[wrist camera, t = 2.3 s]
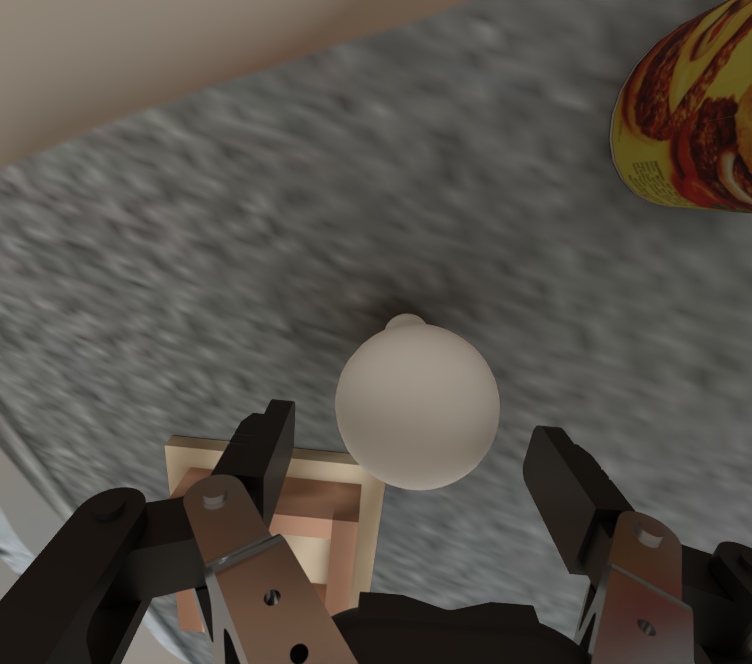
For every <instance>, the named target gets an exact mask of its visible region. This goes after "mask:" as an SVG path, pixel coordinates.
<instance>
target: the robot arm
mask: <svg viewBox="0 0 752 664" xmlns="http://www.w3.org/2000/svg"><path fill="white" fill-rule="evenodd" d="M294 426H295V402H294V401H285V400H275V399H272V400H271V401H270V403H269V405H268V407H267V409H266V411H265V413H264V414H258V413H252V414H251V415H250V416H248V417H247V418H245V419H244V420H243V421H241V423H240V425H239V426H238V428H237V430H236V431H235V435H233V437H232V438H231V440H230V443H229V444H228V445H227V447H226V449H225V451H224V452H223V454H222V456H221V457H220V459H219V461H218V463H217V464H216V466H215V468H214V470H213V471H212V473H211V475H210V476H209V477H206V478H203V479H201V480H199V481H197V482H196V483H194V484H193V485H192V486H191V487H190V488H189V489H188V490H187V492H186V493H185V495H184V496H181V497H178V498H173V499H167V500H161V501H154V502H148V503H146V500H145V496H144V495H143V493H142V492H140V491H139V490H137V489H134V488H127V487H122V488H114V489H110V490H107V491H104V492H101V493H99V494H97V495H95V496H93V497H91V498H90V499H88V500H87V501H85V502H84V503H83V504H82V505H81V506H80V507H79V508H78V509H77V510H76V511H75V512H74V513H73V515H72V516H71V517H70V518H69V519H68V521H67V522H66V523H65V524H64V525H63V527H62V528H61V529H60V530H59V531H58V532H57V534H56V535H55V536H54V537H53V539H52V540H51V541H50V542H49V543H48V544H47V546H46V547H45V548H44V549H43V550H42V552H41V553H40V554H39V555H38V557H37V558H36V559H35V560H34V561H33V562H32V563H31V565H30V566H29V567H28V568H27V569H26V571H25V572H24V573H23V574H22V575H21V577H20V578H19V579H18V580H17V581H16V583H15V584H14V585H13V586H12V587H11V589H10V590H9V591H8V592H7V593H6V594H5V596H4V597H3V598H2V599H1V601H0V664H121V662H122V660H123V658H124V656H125V654H126V652H127V650H128V648H129V646H130V644H131V642H132V640H133V637H134V635H135V633H136V631H137V629H138V627H139V625H140V623H141V621H142V619H143V617H144V615H145V613H146V610H147V608H148V606H149V604H150V602H151V600H152V598H154V597H159V596H163V595H167V594H172V593H176V592H180V591H184V590H189V589H192V591H193V595H194V598H195V601H196V604H197V608H198V611H199V614H200V617H201V621H202V624H203V627H204V631H205V634H206V637H207V640H208V644H209V647H210V650H211V654H212V657H213V662H214V664H694V663H695V664H752V548H750V547H747V546H745V545H742V544H739V543H735V542H722V543H720V544H719V545H718V546H717V548H716V550H715V551H714V553H713V555H712V554H709V553H706V552H703V551H700V550H697V549H694V548H691V547H688V546H685V545H682V544H681V543H680V541H679V539H678V538H677V536H676V535H675V534H674V533H673V532H672V531H671V530H670V529H669V528H668V527H666V526H665V525H664V524H662V523H661V522H659V521H658V520H656V519H654V518H652V517H650V516H648V515H646V514H643V513H639V512H636V511H635V510H634V509H633V508H632V506H631V505H630V504H629V502H628V501H627V500H626V499H625V497H624V496H623V495H622V493H621V492H620V491H619V490H618V488H617V487H616V486H615V485H614V483H613V482H612V481H611V480H609V477H608V476H607V474H606V473H605V472H604V470H601V467H600V465H599V464H598V463H597V462H596V460H595V459H594V458H593V456H592V455H591V454H589V453H588V452H587V451H585V450H584V449H583V448H581V447H580V446H579V445H577V444H574V443H573V442H572V440H571V439H570V438H569V436H568V435H567V434H566V432H565V431H564V430H563V429H562V428H559V427H549V426H536V427H535V429H534V431H533V434H532V437H531V440H530V444H529V447H528V450H527V454H526V457H525V460H524V464H523V476H524V481H525V483H526V485H527V487H528V490H529V492H530V494H531V496H532V498H533V500H534V502H535V504H536V506H537V508H538V510H539V512H540V514H541V516H542V518H543V520H544V522H545V524H546V526H547V528H548V530H549V533H550V535H551V537H552V539H553V541H554V543H555V545H556V547H557V549H558V551H559V553H560V555H561V557H562V559H563V561H564V563H565V565H566V567H567V569H568V571H569V573H570V574H578V575H588V577H589V579H590V584H589V586H588V588H587V591H586V594H585V598H584V602H583V606H582V609H581V613H580V617H579V621H578V625H577V628H576V632H575V636H574V640H573V641H572V640H571V639H569V638H568V637H566V636H565V635H563V634H561V633H560V632H558V631H556V630H555V629H552V628H550V627H548V626H546V625H544V624H541V623H539V620H538V618H537V615H536V612H535V609H534V607H533V606H532V605H520V604H508V603H495V602H489V603H484V604H480V605H475V606H470V607H465V608H460V609H456V610H445V609H442V608H439V607H436V606H433V605H431V604H428V603H425V602H422V601H419V600H416V599H413V598H410V597H407V596H404V595H397V594H384V593H372V592H360V594H359V601H358V607H356V608H351V609H348V610H345V611H342V612H339V613H337V614H335V615H333V616H330V614H329V613H328V611H327V609H326V607H325V606H324V604H323V602H322V601H321V599H320V597H319V595H318V594H317V592H316V590H315V589H314V587H313V585H312V584H311V582H310V580H309V578H308V577H307V575H306V573H305V572H304V570H303V568H302V566H301V565H300V563H299V561H298V560H297V558H296V556H295V554H294V553H293V551H292V549H291V548H290V546H289V544H288V542H287V541H286V539H285V538H284V537H283V536H282V535H281V534H277V535H275V536H272V535H271V533H270V532H269V527H270V524H271V521H272V518H273V515H274V512H275V509H276V505H277V502H278V499H279V496H280V493H281V490H282V487H283V483H284V480H285V477H286V474H287V471H288V468H289V464H290V461H291V458H292V453H293V446H294Z"/></svg>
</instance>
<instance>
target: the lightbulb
mask: <svg viewBox="0 0 752 664" xmlns="http://www.w3.org/2000/svg"><path fill="white" fill-rule="evenodd" d="M335 411H336V418H337V424H338V429H339V432H340V434H341V436H342V439H343V441H344V444H345V446H346V448H347V450H348V451H349V453H350V454H351V455H352V457H353V458H354V460H355V461H356V462H357V463H358V464H359V465H360V466H362V467H363V468H364V469H365V470H366V471H367V472H368V473H369V474H371V475H372V476H374V477H375V478H377V479H378V480H380V481H383V482H385V483H387V484H389V485H392V486H396V487H400V488H403V489H408V490H431V489H436V488H440V487H444V486H446V485H449V484H451V483H453V482H455V481H457V480H459V479H460V478H462V477H464V476H465V475H467V474H468V473H469V472H471V471H472V470H473V469H474V468H475V467H476V466H477V465H478V464H479V463H480V461H481V460H482V459H483V458H484V456H485V455H486V454H487V452H488V451H489V449H490V447H491V445H492V443H493V441H494V439H495V436H496V432H497V428H498V423H499V417H500V400H499V393H498V389H497V384H496V380H495V378H494V376H493V374H492V372H491V370H490V368H489V366H488V364H487V362H486V361H485V359H484V358H483V357H482V356H481V354H480V353H479V352H478V351H477V349H476V348H474V347H473V346H472V345H471V344H469V343H468V342H467V341H466V340H465V339H463V338H461V337H460V336H458V335H456V334H454V333H452V332H451V331H449V330H447V329H444V328H441V327H437V326H434V325H428V324H426V323H425V322H424V320H423V319H421V318H420V317H418V316H416V315H414V314H400V315H397V316H395V317H394V318H392V319H391V320H390V321H389V322H388V324H387V325H386V327H385V330H383V331H381V332H379V333H377V334H375V335H373V336H372V337H371V338H370V339H368V340H367V341H366V342H364V343H363V344H362V345H361V346H360V347H359V348H358V350H357V351H356V352H355V353H354V354H353V355H352V356H351V358H350V359H349V360H348V362H347V363H346V365H345V367H344V369H343V371H342V373H341V376H340V379H339V383H338V386H337V390H336V398H335Z"/></svg>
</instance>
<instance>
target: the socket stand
mask: <svg viewBox="0 0 752 664" xmlns="http://www.w3.org/2000/svg"><path fill="white" fill-rule="evenodd" d="M229 443H230V441H220V440H210V439H200V438H191V437H181V436H172V437H171V439H170V440H169V441H168V442H167V443H166V444H165V453H166V462H167V471H168V480H169V489H170V498H169V499H173V498H178V497H181V496H184V495H185V493H186V492H187V490H188V489H189V488H190V487H191V486H192V485H193V484H194V483H196V482H197V481H199V480H201V479H203V478H206V477H209V476H210V475H211V473H212V471H213V470H214V468H215V466H216V464H217V463H218V461H219V459H220V457H221V456H222V454H223V452H224V451H225V449H226V447H227V445H228V444H229ZM384 489H385V482H383V481H380V480H378V479H377V478H375V477H374V476H372V475H371V474H369V473H368V472H367V471H366V470H365V469H364V468H363V467H362V466H360V465H359V464H358V463H357V462H356V461H355V460H354V458H353V457H352V455H351V454H347V453H337V452H327V451H317V450H308V449H298V448H293V453H292V458H291V461H290V464H289V468H288V471H287V474H286V477H285V480H284V483H283V487H282V490H281V493H280V496H279V499H278V502H277V505H276V509H275V512H274V515H273V518H272V521H271V524H270V527H269V532H270V533H271V535H272V536H275V535H277V534H281V535H282V536H283V537H284V538H285V539H286V541H287V542H288V544H289V546H290V548H291V549H292V551H293V553H294V554H295V556H296V558H297V560H298V561H299V563H300V565H301V566H302V568H303V570H304V572H305V573H306V575H307V577H308V578H309V580H310V582H311V584H312V585H313V587H314V589H315V590H316V592H317V594H318V595H319V597H320V599H321V601H322V602H323V604H324V606H325V607H326V609H327V611H328V613H329V614H330V616H333V615H335V614H337V613H339V612H342V611H345V610H348V609H351V608H356V607H358V601H359V594H360V592H370V585H371V578H372V571H373V565H374V558H375V551H376V544H377V537H378V530H379V523H380V517H381V510H382V503H383V496H384ZM176 598H177V607H178V615H179V624H180V630H189V631H199V632H205V631H204V627H203V624H202V621H201V617H200V614H199V611H198V608H197V604H196V601H195V598H194V595H193V591H192V589H189V590H184V591H180V592H176Z"/></svg>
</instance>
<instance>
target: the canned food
mask: <svg viewBox="0 0 752 664" xmlns="http://www.w3.org/2000/svg"><path fill="white" fill-rule="evenodd" d="M609 140H610V147H611V153H612V160H613V163H614V165H615V167H616V170H617V172H618V174H619V176H620V178H621V180H622V181H623V182H624V183H625V184H626V185H627V186H628V188H629V189H630V190H631V191H632V192H633V193H634V194H635V195H637V196H639V197H641V198H643V199H645V200H647V201H649V202H651V203H654V204H660V205H665V206H671V207H682V208H694V209H705V210H717V211H729V212H741V213H752V0H727V1H725V2H724V3H722V4H720V5H718V6H716V7H714V8H712V9H710V10H709V11H707V12H705V13H703V14H701V15H699V16H697V17H695V18H693V19H692V20H690V21H688V22H686V23H684V24H682V25H680V26H678V27H677V28H675V29H674V30H673V31H671V32H670V33H669V34H667V35H666V36H664V37H663V38H662V39H660V40H659V41H658V42H656V43H655V44H654V45H653V46H652V47H651V48H650V49H649V50H648V51H647V52H646V54H645V55H644V56H643V57H642V58H641V59H640V60H639V61H638V62H637V64H636V65H635V66H634V68H633V69H632V71H631V73H630V74H629V76H628V78H627V79H626V81H625V83H624V85H623V86H622V88H621V90H620V92H619V95H618V98H617V101H616V104H615V107H614V110H613V113H612V119H611V129H610V139H609Z"/></svg>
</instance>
